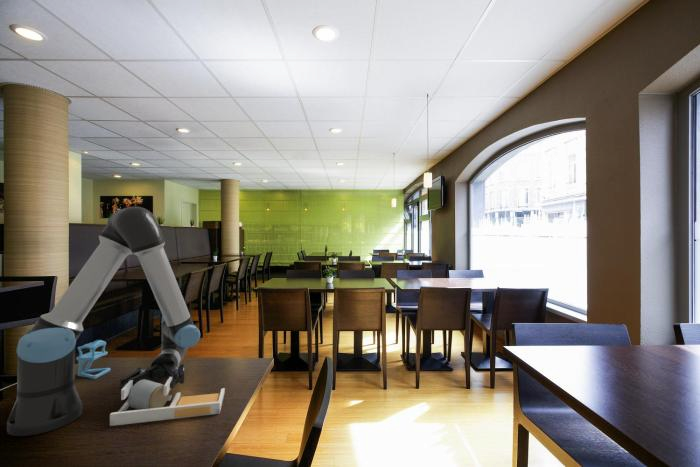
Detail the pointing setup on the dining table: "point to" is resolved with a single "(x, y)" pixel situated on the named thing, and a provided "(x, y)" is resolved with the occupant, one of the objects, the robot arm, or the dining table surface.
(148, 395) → the ceramic mug
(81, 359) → the chair
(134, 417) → the bay rack
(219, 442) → the dining table surface
